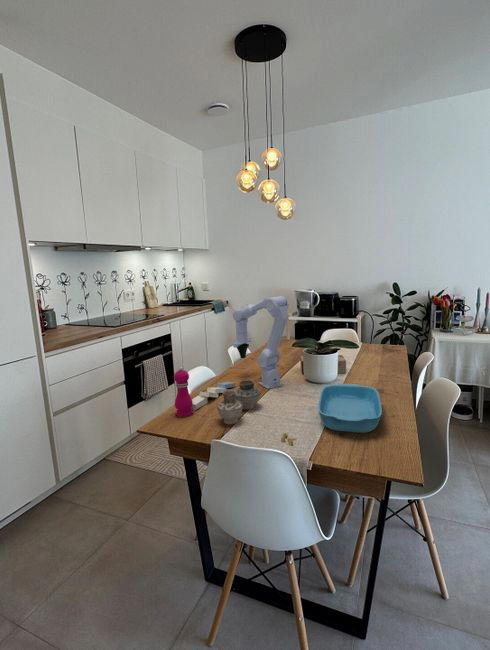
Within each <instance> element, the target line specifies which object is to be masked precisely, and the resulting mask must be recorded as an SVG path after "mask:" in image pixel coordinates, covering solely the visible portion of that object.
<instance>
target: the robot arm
mask: <svg viewBox="0 0 490 650" xmlns="http://www.w3.org/2000/svg"><path fill="white" fill-rule="evenodd" d="M289 306H290V303H289V301H288V299H287V297H286V296H284V295H279V296H273V297H266V298H264V299H262V300H260V301H259V302H257V303H255V304H253V303H247V304H246V306H242V307H240V309H235V310H234V311H233V313H232V318H233V320H234V321H235V335H236V336H235V337H236V340H235V339H234V343H232V346H233V347H232V348H235V349H237V352H238V354H239V357H240V359H246V357H247V352H248V348H249V347H250V345H249V343H250V342H252V341H251V340H252V338H251V337H248V319H249V318H251V317H252V316H255V315H257V312H258V311H261V310H263V309H265V310H267V312H268V314H270V316H271V317H272V318H273V319H274V321H273V324H272V328H271V330H270V334H269V337H268V340H267V344H266V346H265V348H264V349H263V350H262V351H261V353H260V355H259V356H258V357H257V364H258V366H259V367H260V368H261V381H260V382H258V384H260V385H261V386H262V387H264V388H265V389H268V390H269V389H273V388H278V387H282V386H283V385H282V384H281V373H280V371H279V370H278V369H277V366H278V364H279V363H280V354H281V353H280V351H279V350H278V349H279V346H280V343H281V341H282V337H283V334H284V330H285V328H286V325H287V322H288V317H289V316H288V309H289Z"/></svg>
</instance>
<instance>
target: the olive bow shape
mask: <svg viewBox="0 0 490 650" xmlns="http://www.w3.org/2000/svg"><path fill="white" fill-rule="evenodd" d="M286 440H287V443H288V446H293V445H294V440H297V438H296V437H291V436H289V437H288V433H287V432H283V434H282V436H281V437H280V442H282V443H286Z"/></svg>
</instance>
